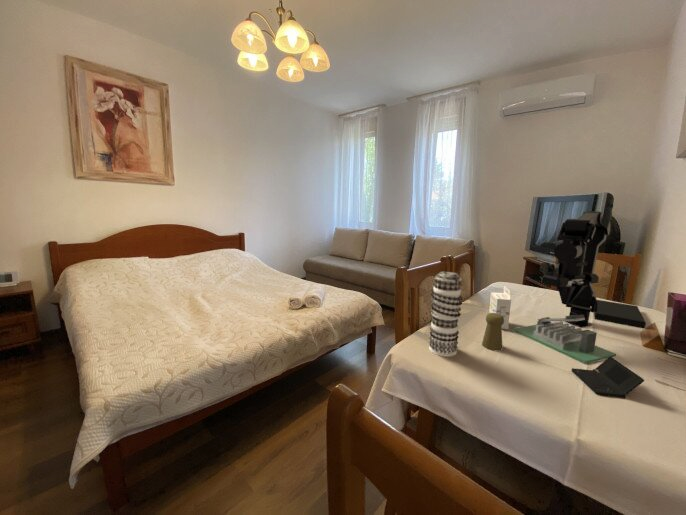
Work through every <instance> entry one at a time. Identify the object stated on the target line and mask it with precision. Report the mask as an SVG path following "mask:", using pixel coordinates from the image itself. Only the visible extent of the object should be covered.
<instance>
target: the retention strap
mask: <svg viewBox="0 0 686 515" xmlns="http://www.w3.org/2000/svg"><path fill="white" fill-rule="evenodd" d="M537 320H538V321H550V322H560V321H562V322H565V321H580V320H585V318H584V315H570V316H569V315H566V316H564V317H561V318H559V317H553V318H551V317H549V316H547V317H542V318H541V317H540V318H538V319H537ZM538 321H537V322H538Z"/></svg>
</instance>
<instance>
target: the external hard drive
mask: <svg viewBox="0 0 686 515" xmlns="http://www.w3.org/2000/svg"><path fill="white" fill-rule="evenodd" d="M597 301H598V308H597V312H593V314H594V320H597V321H602V322H606V323H607V322H608V323H612V324H619V325H622V326H628V327H633V328H634V327H635V328H638V329H639V328H640V329H644V328H645V329H646V321H645V319H644V316H643V315H642V313H641V310H640V309H639V307H638V305H632V304H626V303H621V302H613V301H607V300H601V299H597Z"/></svg>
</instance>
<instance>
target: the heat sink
mask: <svg viewBox="0 0 686 515" xmlns="http://www.w3.org/2000/svg"><path fill="white" fill-rule="evenodd" d="M535 325H536V330H535V331H534V333H533V336H534V337H536V338H538V339H540V340H543V341H545V342H547V343H549V344H551V345H554V346H556V347H558V348H560V349H562V350H564V349H568V348H573V347H578V346H580V349H579V351H580V352H583V353H589V352H594V347H595V345H596V339H597V334H598V332H595V331H594V330H591V329H582V327H577V328H576V325H570V323H564V321H553V322H552V321H537V323H536V324H535Z"/></svg>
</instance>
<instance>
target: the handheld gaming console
mask: <svg viewBox="0 0 686 515" xmlns="http://www.w3.org/2000/svg"><path fill="white" fill-rule="evenodd" d="M571 372H572V373H573V374H574V375H575V377H577V378H578V379H580V380H581V382H583V384H585V386H587V387H588V388H589V389H590V390H591V391H592V392H593V393H594V394H595V395H597V396H602V397H603V396H604V397H610V398H611V397H613V398H619V399H620V398H621V399H626V396H627V395H628V394H630V393H631V392H632V391H634V390H636V388H638V387H639V386H640V385H641V384H643V383H644V382H645V379H644V378H643V377H641V376H640V375H638V374H637V373H636V372H634V371H632V369H630V368H628V367H627V366H625V365H624V364H623V363H621V362H620V361H618V360H617V359H616V358H615V357H609V358H607V359H604V361H603V362H602V363H601V364H599V365H598V366H596V367H595V368H593V369H584V368H583V369H582V368H573V367H572V368H571Z"/></svg>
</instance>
